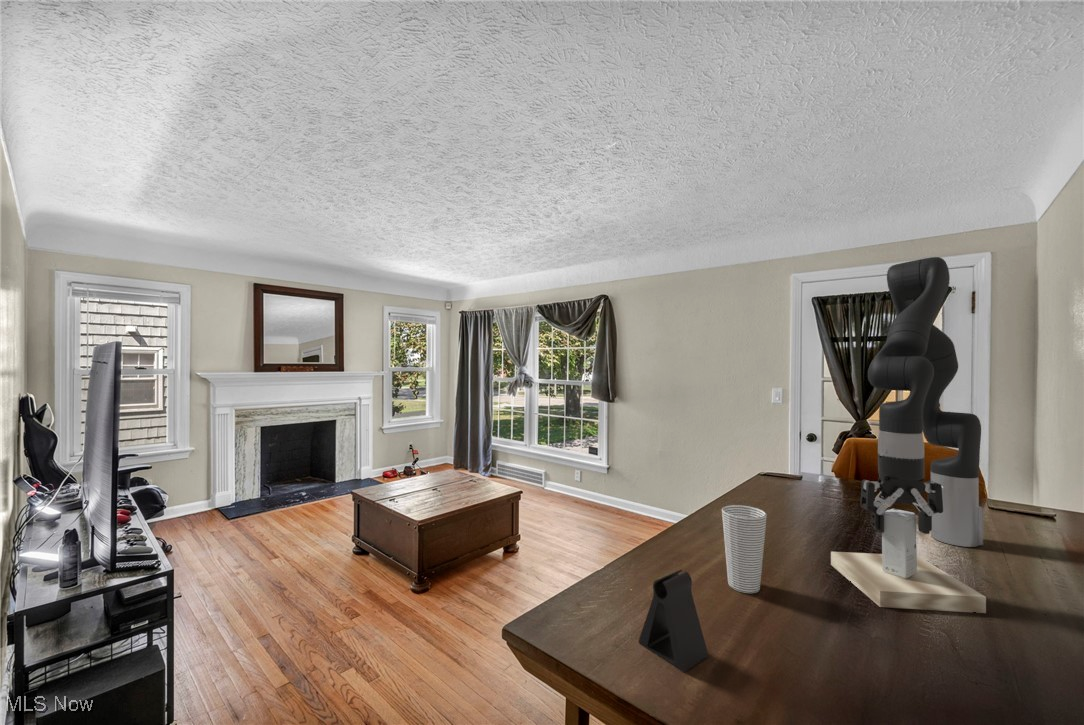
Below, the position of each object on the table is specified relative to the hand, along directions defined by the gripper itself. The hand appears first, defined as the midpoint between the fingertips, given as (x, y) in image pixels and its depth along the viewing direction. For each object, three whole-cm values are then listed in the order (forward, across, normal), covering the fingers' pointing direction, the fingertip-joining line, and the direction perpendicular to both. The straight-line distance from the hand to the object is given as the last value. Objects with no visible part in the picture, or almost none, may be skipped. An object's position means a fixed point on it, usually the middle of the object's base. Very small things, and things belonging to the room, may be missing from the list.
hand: (901, 531), depth 93 cm
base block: (+11, 0, 0) cm, 11 cm away
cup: (+11, +32, +4) cm, 34 cm away
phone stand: (+11, +50, +27) cm, 58 cm away
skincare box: (+8, 0, 0) cm, 8 cm away
